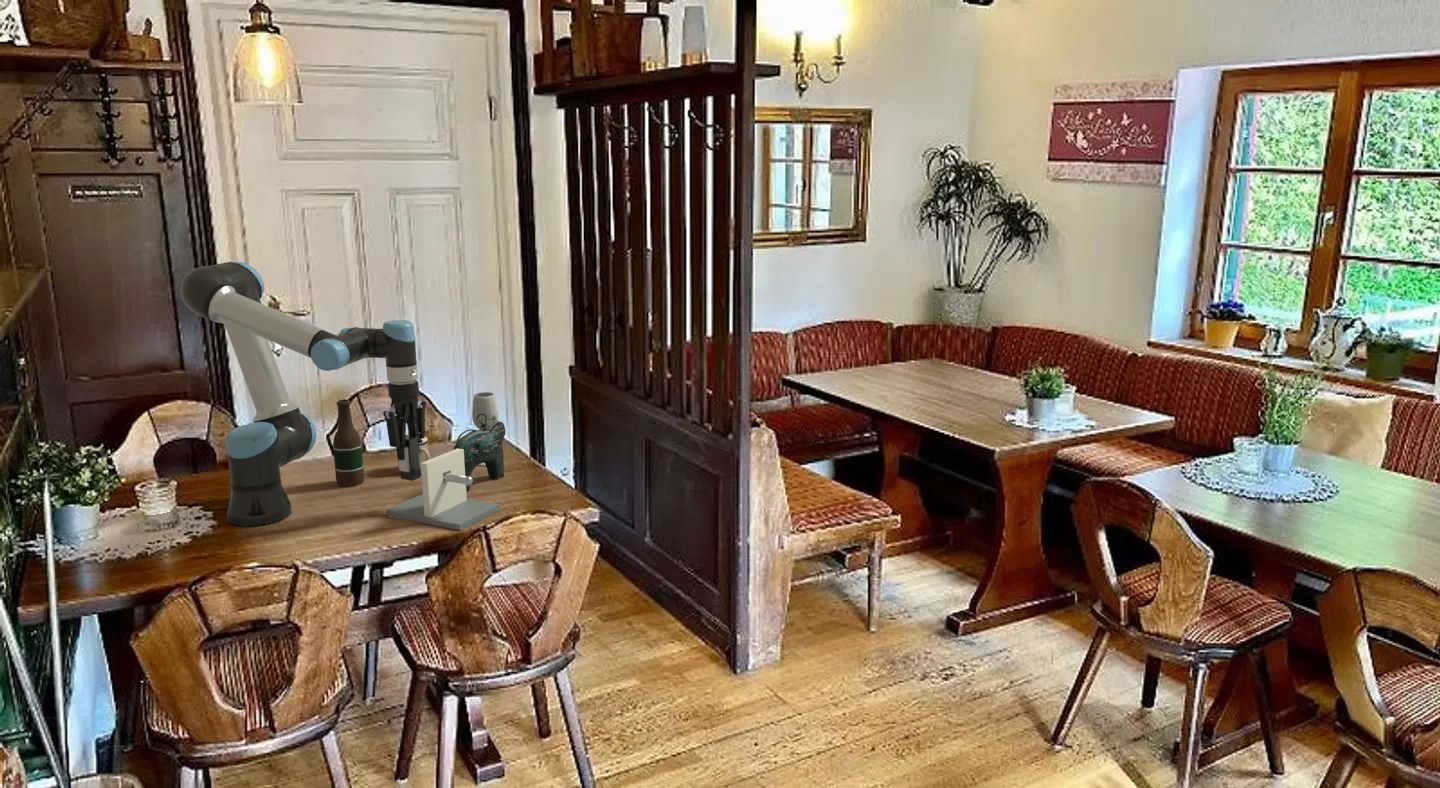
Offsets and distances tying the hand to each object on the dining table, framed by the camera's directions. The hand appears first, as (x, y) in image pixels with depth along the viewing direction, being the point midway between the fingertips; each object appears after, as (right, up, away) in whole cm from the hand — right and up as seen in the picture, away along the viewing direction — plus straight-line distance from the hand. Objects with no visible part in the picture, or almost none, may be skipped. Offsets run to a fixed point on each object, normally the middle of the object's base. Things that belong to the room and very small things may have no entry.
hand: (409, 468), depth 263 cm
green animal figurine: (+14, -6, +21) cm, 26 cm away
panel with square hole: (+10, -11, -2) cm, 15 cm away
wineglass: (+11, -1, +40) cm, 42 cm away
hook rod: (+8, -3, -3) cm, 9 cm away
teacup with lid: (-8, -3, +33) cm, 34 cm away
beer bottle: (-23, -6, +22) cm, 33 cm away
